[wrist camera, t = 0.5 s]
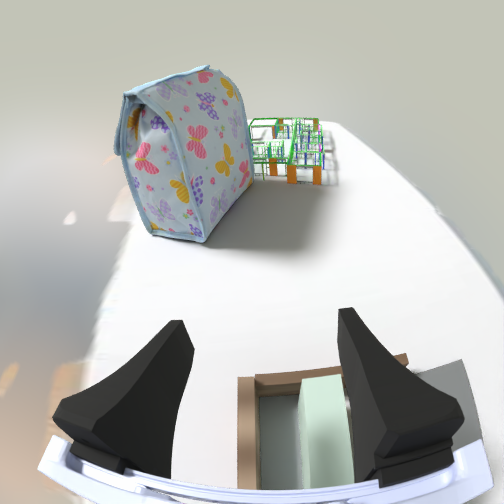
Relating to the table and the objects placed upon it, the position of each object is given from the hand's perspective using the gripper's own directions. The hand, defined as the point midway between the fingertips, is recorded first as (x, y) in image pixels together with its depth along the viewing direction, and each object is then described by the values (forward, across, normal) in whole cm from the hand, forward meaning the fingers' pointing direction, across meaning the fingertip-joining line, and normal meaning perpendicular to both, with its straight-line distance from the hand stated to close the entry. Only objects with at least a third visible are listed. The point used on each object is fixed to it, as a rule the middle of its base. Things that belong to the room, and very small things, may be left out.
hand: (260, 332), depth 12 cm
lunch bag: (+42, +15, +6) cm, 45 cm away
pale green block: (0, -3, +19) cm, 19 cm away
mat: (+2, -18, +20) cm, 27 cm away
